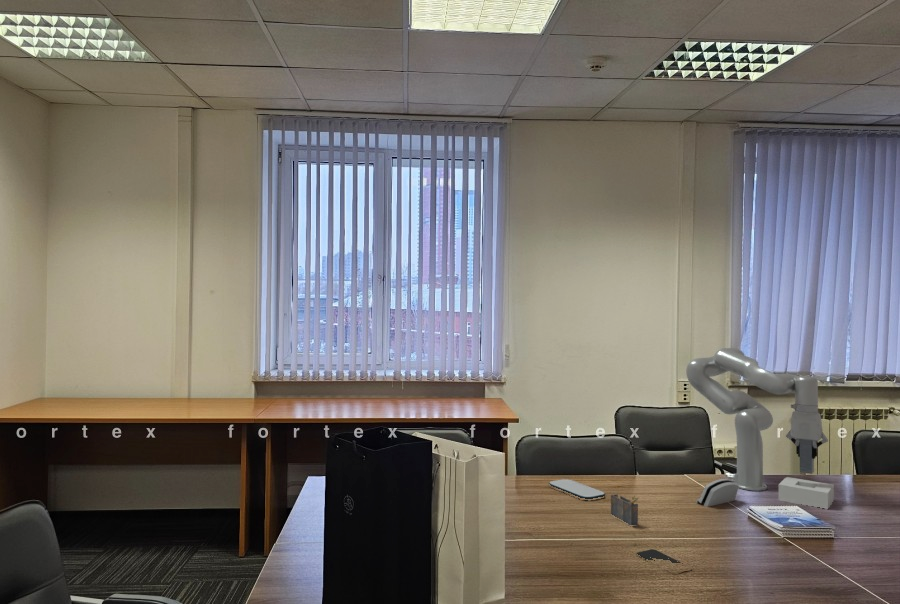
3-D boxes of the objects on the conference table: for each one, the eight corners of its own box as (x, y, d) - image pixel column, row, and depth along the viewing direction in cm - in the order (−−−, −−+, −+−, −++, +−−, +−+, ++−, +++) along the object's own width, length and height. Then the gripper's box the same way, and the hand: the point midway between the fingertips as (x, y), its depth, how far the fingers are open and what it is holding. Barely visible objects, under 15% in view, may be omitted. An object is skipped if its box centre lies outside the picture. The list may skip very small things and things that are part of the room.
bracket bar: (799, 472, 229) (799, 435, 229) (801, 470, 232) (801, 433, 232) (811, 473, 226) (811, 436, 226) (813, 471, 229) (813, 434, 229)
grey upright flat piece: (638, 527, 201) (639, 497, 201) (631, 528, 200) (631, 498, 200) (618, 516, 211) (618, 488, 211) (610, 516, 210) (611, 488, 210)
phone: (674, 573, 163) (634, 552, 177) (674, 576, 163) (634, 555, 177) (694, 568, 166) (653, 548, 180) (694, 571, 166) (653, 551, 180)
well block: (778, 500, 229) (778, 484, 229) (786, 492, 240) (786, 476, 240) (827, 509, 219) (827, 492, 219) (833, 500, 229) (833, 484, 229)
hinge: (723, 496, 233) (731, 474, 230) (733, 504, 229) (742, 481, 226) (694, 503, 225) (702, 480, 222) (705, 511, 221) (713, 487, 218)
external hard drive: (545, 487, 245) (545, 482, 245) (567, 483, 251) (567, 478, 251) (585, 503, 225) (585, 498, 225) (608, 498, 230) (608, 493, 231)
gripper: (779, 407, 232) (779, 455, 232) (830, 412, 221) (831, 462, 221) (783, 405, 238) (784, 452, 237) (833, 410, 227) (834, 459, 227)
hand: (806, 456), depth 229 cm, fingers closed on bracket bar, 4 cm apart
